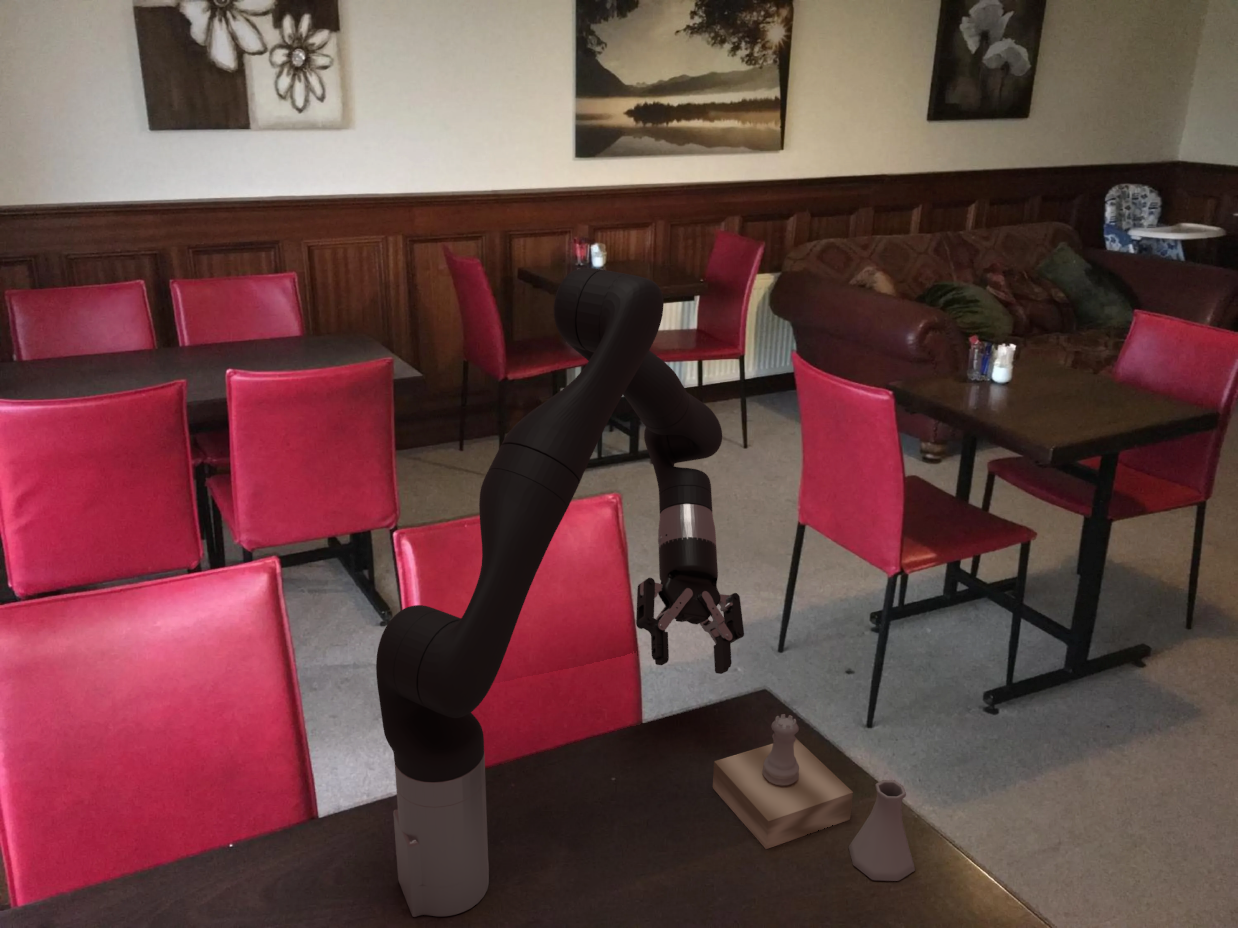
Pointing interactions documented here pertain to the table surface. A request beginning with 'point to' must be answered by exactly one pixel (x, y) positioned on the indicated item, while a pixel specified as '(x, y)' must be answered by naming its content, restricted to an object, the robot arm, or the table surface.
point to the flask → (883, 837)
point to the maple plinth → (781, 796)
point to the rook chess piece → (782, 753)
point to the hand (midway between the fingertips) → (692, 667)
